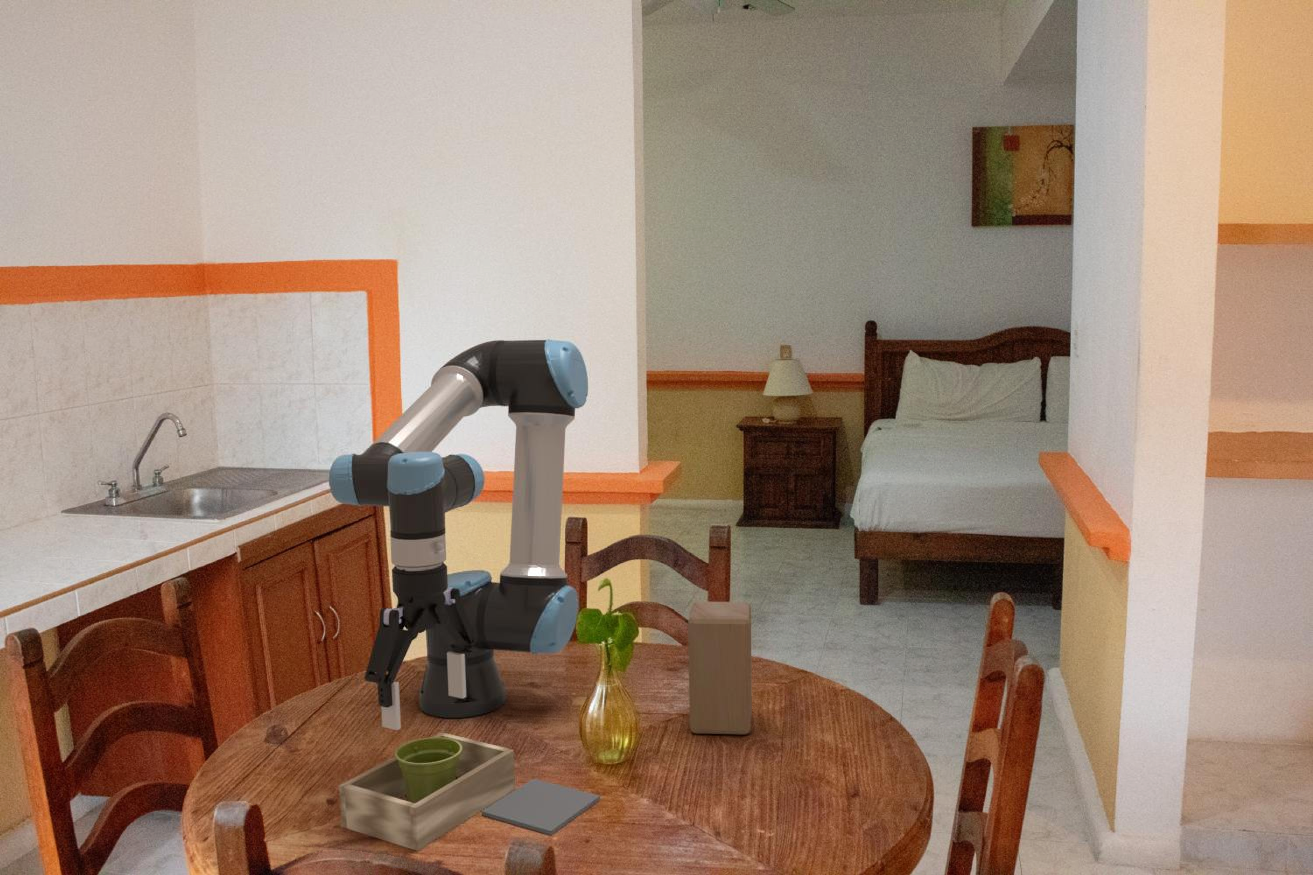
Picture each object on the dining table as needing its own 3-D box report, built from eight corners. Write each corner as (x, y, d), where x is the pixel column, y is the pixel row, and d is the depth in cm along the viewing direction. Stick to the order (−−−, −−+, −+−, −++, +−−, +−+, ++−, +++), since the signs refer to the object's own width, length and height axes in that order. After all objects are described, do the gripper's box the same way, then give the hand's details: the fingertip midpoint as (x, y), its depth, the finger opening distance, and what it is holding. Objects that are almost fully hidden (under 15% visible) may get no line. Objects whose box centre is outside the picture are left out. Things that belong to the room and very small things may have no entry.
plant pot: (393, 799, 167) (390, 742, 165) (457, 787, 170) (455, 732, 169) (402, 827, 158) (399, 768, 157) (470, 815, 161) (468, 756, 160)
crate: (341, 826, 159) (339, 785, 158) (443, 769, 176) (441, 731, 176) (417, 850, 152) (415, 808, 151) (515, 788, 169) (514, 749, 169)
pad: (481, 815, 161) (481, 811, 161) (533, 782, 171) (533, 778, 171) (551, 835, 155) (551, 830, 155) (600, 799, 165) (600, 795, 165)
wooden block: (751, 713, 197) (750, 600, 194) (750, 736, 187) (749, 618, 184) (693, 712, 198) (691, 599, 195) (689, 735, 188) (687, 617, 185)
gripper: (374, 588, 146) (382, 747, 149) (497, 548, 168) (502, 688, 170) (332, 581, 150) (340, 736, 153) (457, 543, 171) (462, 680, 174)
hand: (425, 711), depth 162 cm, fingers open, 13 cm apart
